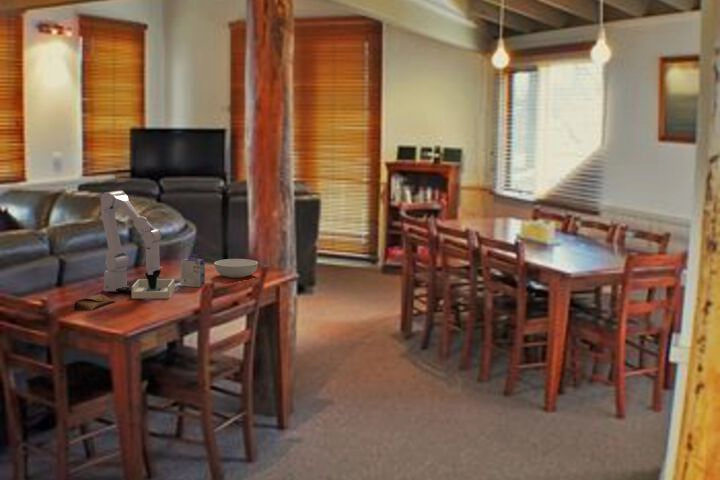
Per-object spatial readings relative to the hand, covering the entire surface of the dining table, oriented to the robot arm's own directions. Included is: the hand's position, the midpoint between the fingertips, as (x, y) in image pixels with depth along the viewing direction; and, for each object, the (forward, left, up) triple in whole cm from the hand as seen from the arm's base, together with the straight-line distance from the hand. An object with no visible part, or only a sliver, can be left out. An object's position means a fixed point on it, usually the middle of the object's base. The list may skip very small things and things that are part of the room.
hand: (153, 287), depth 379 cm
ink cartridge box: (+15, +17, -3) cm, 23 cm away
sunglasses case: (-20, -20, -4) cm, 29 cm away
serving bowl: (+33, +38, -3) cm, 50 cm away
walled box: (0, 0, -3) cm, 3 cm away
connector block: (0, 0, -2) cm, 2 cm away
